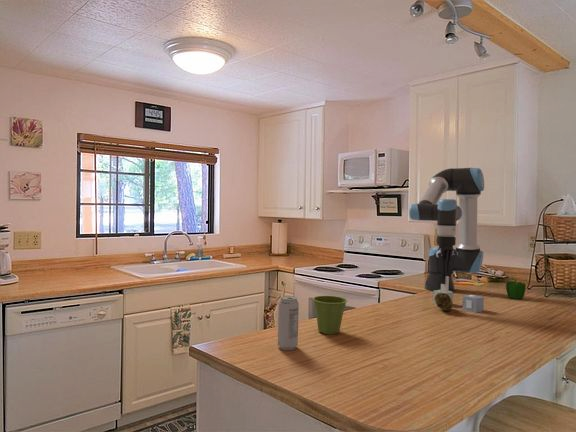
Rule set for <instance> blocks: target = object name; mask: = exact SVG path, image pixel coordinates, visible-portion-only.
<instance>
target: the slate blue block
mask: <svg viewBox="0 0 576 432" xmlns="http://www.w3.org/2000/svg"><path fill="white" fill-rule="evenodd" d="M484 299H485V297H484V296H481V295H474V294H467V295H466V294H465V295H463V296H462V311H467V312H471V313H475V314H476V313H480V312H484V304H485V303H484V301H485V300H484Z"/></svg>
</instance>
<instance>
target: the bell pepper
mask: <svg viewBox="0 0 576 432" xmlns="http://www.w3.org/2000/svg"><path fill="white" fill-rule="evenodd" d="M510 279H511V280H513V281H507V282H506V283H505V288H506V293H507V297H508V298H510V299H514V300H520V299H521V300H522V299H524V296H525V293H526V289H527V285H526V283H524V282H520V281H517V279H516V278H515V277H511V278H510Z"/></svg>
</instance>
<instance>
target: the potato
mask: <svg viewBox="0 0 576 432" xmlns="http://www.w3.org/2000/svg"><path fill="white" fill-rule="evenodd" d="M434 300H435V303H436V304H435V305H436V306H437V307H438V308H439V309H440V310H442V311H445V312H448V311H451V310H452V308H453V305H454V304H453V305H452V300H451V298H450V296H449V295H448V294H445V293H438V294H437V295H436V296H435V298H434Z"/></svg>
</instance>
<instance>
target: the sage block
mask: <svg viewBox="0 0 576 432" xmlns="http://www.w3.org/2000/svg"><path fill="white" fill-rule="evenodd" d="M432 293H433V295H432V297H433V298H432V299H433V300H432V304H433V305H437V304H436V303H435V300H434V298H435V296H436V295H437V294H438V293H445V294H448V295H449V296H450V298H451V300H452V305H454V304H453V301H454V291H448V292H443V291H441V290H435V291H433V292H432Z"/></svg>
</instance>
